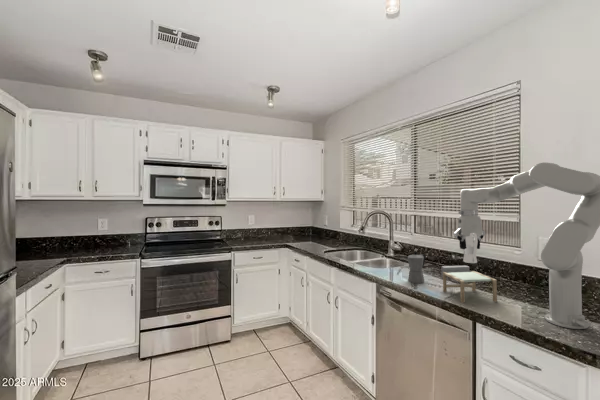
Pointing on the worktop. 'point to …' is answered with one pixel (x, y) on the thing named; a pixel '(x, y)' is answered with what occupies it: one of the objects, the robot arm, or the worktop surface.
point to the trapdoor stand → (467, 285)
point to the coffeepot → (416, 268)
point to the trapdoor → (464, 273)
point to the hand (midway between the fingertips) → (469, 248)
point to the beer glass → (470, 248)
